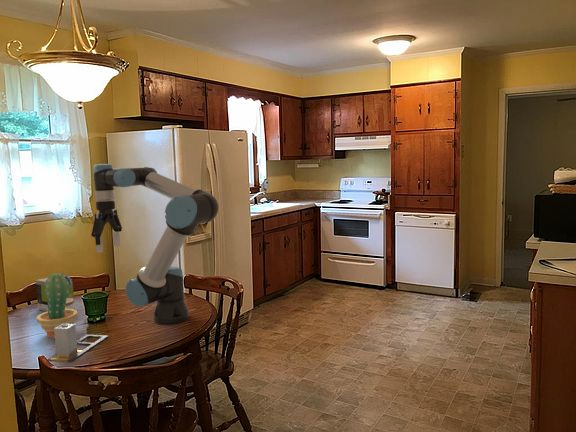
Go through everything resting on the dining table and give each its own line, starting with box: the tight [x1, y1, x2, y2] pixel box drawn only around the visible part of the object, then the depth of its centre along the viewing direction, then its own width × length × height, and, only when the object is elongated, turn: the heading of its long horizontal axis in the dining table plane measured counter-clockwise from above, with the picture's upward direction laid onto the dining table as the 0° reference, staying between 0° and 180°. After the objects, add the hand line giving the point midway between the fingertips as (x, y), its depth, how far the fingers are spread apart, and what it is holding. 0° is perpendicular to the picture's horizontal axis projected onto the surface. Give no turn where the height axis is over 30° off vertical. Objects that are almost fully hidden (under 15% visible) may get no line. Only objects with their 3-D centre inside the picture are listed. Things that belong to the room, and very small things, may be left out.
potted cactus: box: [35, 272, 78, 338], centre depth 198 cm, size 15×15×25 cm
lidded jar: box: [65, 298, 75, 310], centre depth 218 cm, size 11×11×9 cm
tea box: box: [35, 277, 75, 312], centre depth 231 cm, size 15×10×15 cm, turn 58°
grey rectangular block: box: [54, 323, 78, 359], centre depth 176 cm, size 5×5×11 cm
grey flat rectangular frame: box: [47, 334, 109, 363], centre depth 184 cm, size 10×24×1 cm, turn 170°
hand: (108, 249), depth 211 cm, fingers open, 13 cm apart
